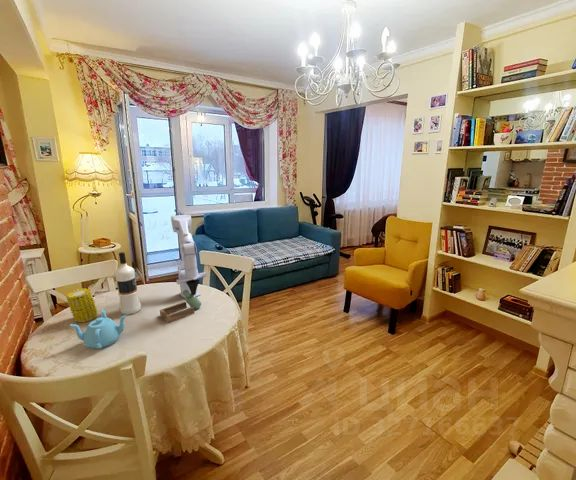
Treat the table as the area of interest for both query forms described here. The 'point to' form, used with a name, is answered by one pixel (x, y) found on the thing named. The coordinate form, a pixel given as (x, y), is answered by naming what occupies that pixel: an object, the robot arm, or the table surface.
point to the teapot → (100, 332)
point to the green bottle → (192, 300)
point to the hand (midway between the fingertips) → (193, 294)
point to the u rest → (175, 308)
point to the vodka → (127, 287)
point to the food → (82, 305)
